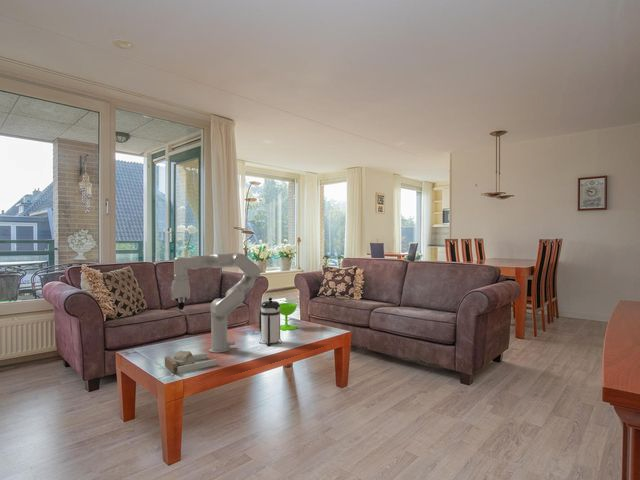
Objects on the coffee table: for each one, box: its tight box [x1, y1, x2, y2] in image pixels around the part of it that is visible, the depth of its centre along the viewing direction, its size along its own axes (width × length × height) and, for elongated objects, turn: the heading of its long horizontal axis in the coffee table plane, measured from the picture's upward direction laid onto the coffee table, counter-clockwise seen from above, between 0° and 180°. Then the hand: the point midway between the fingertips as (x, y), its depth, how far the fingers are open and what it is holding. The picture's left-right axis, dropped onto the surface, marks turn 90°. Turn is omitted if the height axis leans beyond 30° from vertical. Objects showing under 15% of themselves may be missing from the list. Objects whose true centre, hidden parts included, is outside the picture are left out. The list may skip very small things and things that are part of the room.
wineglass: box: [279, 302, 298, 332], centre depth 290 cm, size 16×16×18 cm
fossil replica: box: [172, 350, 196, 367], centre depth 202 cm, size 12×8×10 cm
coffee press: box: [258, 297, 283, 347], centre depth 249 cm, size 17×16×30 cm
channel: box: [164, 352, 218, 375], centre depth 205 cm, size 23×16×5 cm
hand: (180, 309), depth 223 cm, fingers closed
